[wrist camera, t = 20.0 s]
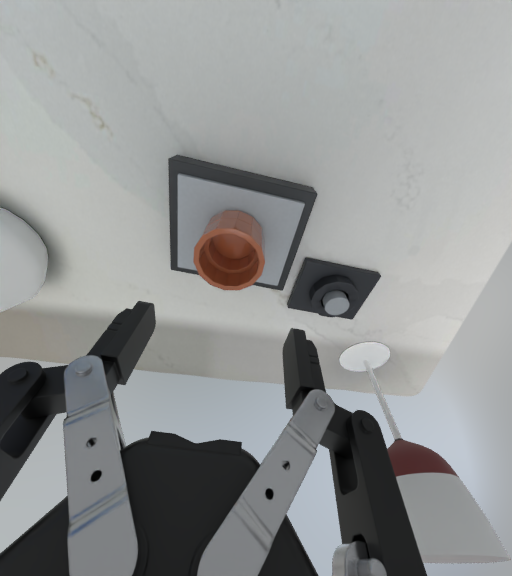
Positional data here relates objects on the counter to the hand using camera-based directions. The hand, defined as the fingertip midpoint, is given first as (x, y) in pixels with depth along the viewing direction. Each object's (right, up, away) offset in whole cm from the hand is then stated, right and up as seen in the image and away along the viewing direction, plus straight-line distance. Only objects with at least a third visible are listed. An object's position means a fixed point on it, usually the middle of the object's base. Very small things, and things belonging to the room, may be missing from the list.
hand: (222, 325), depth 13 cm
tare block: (+12, +2, +18) cm, 22 cm away
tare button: (+12, +1, +16) cm, 20 cm away
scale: (0, +9, +13) cm, 16 cm away
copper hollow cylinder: (0, +7, +10) cm, 13 cm away
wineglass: (+21, -10, +27) cm, 36 cm away
